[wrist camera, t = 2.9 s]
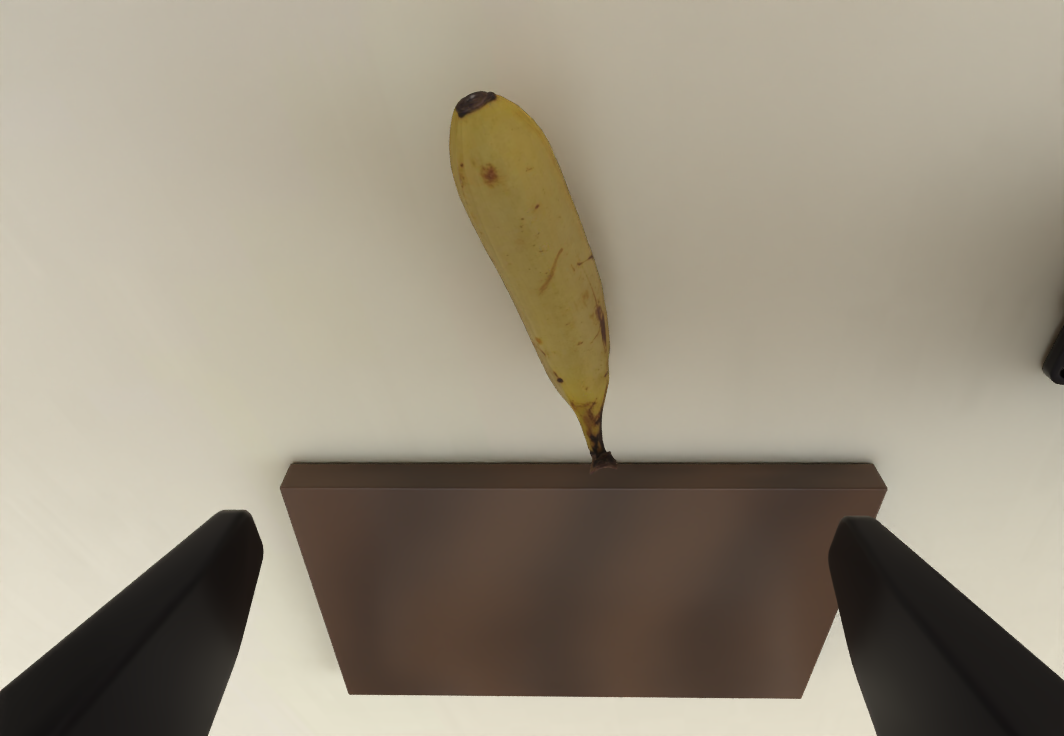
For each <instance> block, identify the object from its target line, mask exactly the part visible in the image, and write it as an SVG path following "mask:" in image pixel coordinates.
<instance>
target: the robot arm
mask: <svg viewBox="0 0 1064 736" xmlns="http://www.w3.org/2000/svg"><path fill="white" fill-rule="evenodd" d="M1063 368H1064V326H1063V328H1062V330H1061V332H1060V333H1059V335H1058V337H1057V339H1056V341H1055V343H1054V345H1053V347H1052V349H1051V351H1050V353H1049V354H1048V356H1047V358H1046V360H1045V362H1044V365H1043V368H1042V369H1043V372H1044V374H1045V375H1047V376H1048V377H1049V378H1050V379H1051V380H1052V381H1053V382H1054V383H1056V384H1061V385H1064V369H1063ZM262 560H263V544H262V541H261V539H260V536H259V533H258V531H257V528H256V526H255V523H254V520H253V518H252V516H251V514H250V513H249V512H248V511H246V510H222V511H220V512H218V513H216V514H215V515H214V516H212V517H211V518H210V519H209V520H208V521H206V522H205V523H204V524H203V525H201V526H200V527H199V528H198V529H197V530H195V531H194V532H193V533H192V534H191V535H189V536H188V537H187V538H186V539H184V540H183V541H182V542H181V543H180V544H178V545H177V546H176V547H175V548H173V549H172V550H171V551H170V552H169V553H167V554H166V555H165V556H164V557H163V558H161V559H160V560H159V561H158V562H156V563H155V564H154V565H153V566H152V567H150V568H149V569H148V570H147V571H146V572H144V573H143V574H142V575H141V576H139V577H138V578H137V579H136V580H135V581H133V582H132V583H131V584H130V585H128V586H127V587H126V588H125V589H124V590H122V591H121V592H120V593H119V594H118V595H116V596H115V597H114V598H113V599H111V600H110V601H109V602H108V603H107V604H105V605H104V606H103V607H102V608H100V609H99V610H98V611H97V612H96V613H94V614H93V615H92V616H91V617H90V618H88V619H87V620H86V621H85V622H83V623H82V624H81V625H80V626H79V627H77V628H76V629H75V630H74V631H73V632H71V633H70V634H69V635H68V636H66V637H65V638H64V639H63V640H62V641H60V642H59V643H58V644H57V645H55V646H54V647H53V648H52V649H51V650H49V651H48V652H47V653H46V654H45V655H43V656H42V657H41V658H40V659H38V660H37V661H36V662H35V663H34V664H32V665H31V666H30V667H29V668H27V669H26V670H25V671H24V672H23V673H21V674H20V675H19V676H18V677H17V678H15V679H14V680H13V681H12V682H10V683H9V684H8V685H7V686H6V687H4V688H3V689H2V690H1V691H0V736H208V734H209V731H210V728H211V726H212V723H213V720H214V718H215V715H216V712H217V710H218V707H219V704H220V702H221V699H222V696H223V694H224V691H225V688H226V686H227V683H228V680H229V678H230V675H231V672H232V670H233V667H234V664H235V661H236V658H237V655H238V652H239V649H240V645H241V642H242V638H243V634H244V631H245V627H246V623H247V619H248V615H249V611H250V607H251V603H252V599H253V595H254V591H255V588H256V584H257V580H258V576H259V572H260V568H261V564H262ZM828 564H829V570H830V574H831V578H832V582H833V587H834V591H835V595H836V599H837V604H838V608H839V612H840V616H841V621H842V625H843V629H844V633H845V638H846V642H847V646H848V650H849V654H850V658H851V661H852V665H853V668H854V671H855V674H856V677H857V680H858V683H859V686H860V689H861V691H862V694H863V697H864V700H865V703H866V706H867V708H868V711H869V714H870V717H871V720H872V722H873V725H874V728H875V731H876V734H877V736H1064V680H1063V679H1062V678H1060V677H1059V676H1058V675H1057V674H1056V673H1055V672H1053V671H1052V670H1051V669H1050V668H1049V667H1048V666H1047V665H1045V664H1044V663H1043V662H1042V661H1041V660H1040V659H1038V658H1037V657H1036V656H1035V655H1034V654H1033V653H1031V652H1030V651H1029V650H1028V649H1027V648H1026V647H1024V646H1023V645H1022V644H1021V643H1020V642H1019V641H1017V640H1016V639H1015V638H1014V637H1013V636H1012V635H1010V634H1009V633H1008V632H1007V631H1006V630H1005V629H1003V628H1002V627H1001V626H1000V625H999V624H998V623H996V622H995V621H994V620H993V619H992V618H991V617H989V616H988V615H987V614H986V613H985V612H984V611H982V610H981V609H980V608H979V607H978V606H977V605H975V604H974V603H973V602H972V601H971V600H970V599H968V598H967V597H966V596H965V595H964V594H963V593H961V592H960V591H959V590H958V589H957V588H956V587H954V586H953V585H952V584H951V583H950V582H949V581H947V580H946V579H945V578H944V577H943V576H942V575H940V574H939V573H938V572H937V571H936V570H935V569H933V568H932V567H931V566H930V565H929V564H928V563H926V562H925V561H924V560H923V559H922V558H921V557H919V556H918V555H917V554H916V553H915V552H914V551H912V550H911V549H910V548H909V547H908V546H907V545H905V544H904V543H903V542H902V541H901V540H900V539H898V538H897V537H896V536H895V535H894V534H893V533H891V532H890V531H889V530H888V529H887V528H886V527H884V526H883V525H882V524H881V523H880V522H879V521H877V520H876V519H874V518H873V517H870V516H844V517H843V518H842V519H841V520H840V522H839V524H838V527H837V530H836V532H835V535H834V538H833V541H832V543H831V546H830V549H829V553H828Z"/></svg>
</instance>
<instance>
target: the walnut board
mask: <svg viewBox="0 0 1064 736" xmlns="http://www.w3.org/2000/svg"><path fill="white" fill-rule="evenodd" d="M617 465H618V467H617V469H613V468H610V467H607V468H602V469H599V470H597V471H596V472H594V473H593V474H591V475H590V469H591V468H590V467H591V464H290V466H289V469H288V471H287V473H286V475H285V477H284V480H283V482H282V484H281V486H280V490H281V493H282V496H283V499H284V502H285V505H286V508H287V511H288V514H289V517H290V520H291V523H292V526H293V529H294V532H295V535H296V538H297V541H298V544H299V547H300V550H301V553H302V556H303V559H304V562H305V565H306V568H307V571H308V574H309V577H310V580H311V583H312V586H313V589H314V592H315V595H316V598H317V601H318V604H319V607H320V610H321V613H322V616H323V619H324V622H325V625H326V628H327V631H328V634H329V637H330V640H331V643H332V646H333V649H334V652H335V655H336V658H337V661H338V664H339V667H340V670H341V673H342V676H343V679H344V682H345V685H346V688H347V691H348V694H350V695H451V696H561V697H670V698H780V699H801V698H802V695H803V693H804V691H805V688H806V686H807V683H808V681H809V678H810V676H811V674H812V671H813V669H814V666H815V664H816V661H817V659H818V657H819V654H820V652H821V649H822V647H823V644H824V642H825V640H826V637H827V635H828V632H829V630H830V627H831V625H832V623H833V620H834V618H835V615H836V613H837V610H838V604H837V599H836V595H835V591H834V587H833V582H832V578H831V574H830V570H829V564H828V553H829V549H830V546H831V543H832V541H833V538H834V535H835V532H836V530H837V527H838V524H839V522H840V520H841V519H842V518H843V517H844V516H870V517H873V518H874V519H875V518H876V516H877V513H878V511H879V509H880V506H881V504H882V501H883V499H884V496H885V494H886V492H887V486H886V485H885V483H884V481H883V480H882V478H881V476H880V474H879V473H878V471H877V469H876V467H875V466H874V464H617Z"/></svg>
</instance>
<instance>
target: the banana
mask: <svg viewBox="0 0 1064 736" xmlns="http://www.w3.org/2000/svg"><path fill="white" fill-rule="evenodd" d="M449 150H450V162H451V169H452V173H453V177H454V181H455V184H456V188H457V191H458V194H459V197H460V199H461V201H462V203H463V205H464V207H465V210H466V212H467V214H468V216H469V218H470V220H471V222H472V224H473V226H474V228H475V230H476V232H477V234H478V236H479V238H480V240H481V242H482V244H483V246H484V248H485V250H486V251H487V253H488V255H489V257H490V258H491V260H492V262H493V264H494V265H495V267H496V269H497V271H498V273H499V274H500V276H501V278H502V280H503V282H504V284H505V286H506V288H507V290H508V292H509V294H510V296H511V298H512V300H513V302H514V304H515V306H516V308H517V311H518V313H519V315H520V317H521V319H522V321H523V323H524V325H525V328H526V330H527V332H528V334H529V337H530V339H531V341H532V343H533V345H534V347H535V349H536V352H537V354H538V356H539V358H540V360H541V363H542V364H543V366H544V368H545V371H546V373H547V375H548V377H549V378H550V380H551V382H552V383H553V385H554V386H555V388H556V389H557V391H558V392H559V394H560V395H561V396H562V397H563V398H564V399H565V400H566V402H567V403H568V404H569V405H570V406H571V408H572V409H573V411H574V412H575V414H576V416H577V418H578V420H579V422H580V425H581V427H582V430H583V433H584V436H585V439H586V442H587V445H588V448H589V450H590V454H591V457H592V463H591V467H590V468H591V469H590V475H591V474H593V473H594V472H596V471H597V470H599V469H602V468H607V467H610V468H613V469H617V467H618V465H617V464H616V463H617V462H616V460H615V459H614V458H613V456H612V455H611V452H606V450H605V448H604V444H603V440H602V412H603V406H604V402H605V397H606V393H607V388H608V384H609V365H608V359H609V351H610V341H609V330H608V320H607V312H606V307H605V302H604V295H603V288H602V284H601V279H600V277H599V274H598V271H597V268H596V264H595V261H594V258H593V255H592V252H591V249H590V246H589V244H588V241H587V239H586V235H585V232H584V230H583V227H582V224H581V222H580V219H579V216H578V214H577V211H576V208H575V206H574V203H573V200H572V198H571V196H570V194H569V191H568V188H567V185H566V183H565V180H564V177H563V175H562V172H561V170H560V167H559V165H558V163H557V160H556V158H555V156H554V154H553V151H552V149H551V146H550V144H549V142H548V140H547V138H546V137H545V135H544V133H543V132H542V130H541V129H540V127H539V126H538V125H537V124H536V122H535V121H534V120H533V119H532V118H531V117H530V116H529V115H528V114H527V113H526V112H525V111H523V110H522V109H521V108H520V107H519V106H518V105H516V104H514V103H513V102H511V101H509V100H507V99H506V98H504V97H502V96H499V95H496V94H494V93H493V92H488V93H487V92H483V91H479V92H474V93H472V94H469V95H468V96H466V97H464V98H462V99H461V100H460V101H459V102H458V104H457V105H456V107H455V109H454V112H453V116H452V121H451V128H450V141H449Z"/></svg>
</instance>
